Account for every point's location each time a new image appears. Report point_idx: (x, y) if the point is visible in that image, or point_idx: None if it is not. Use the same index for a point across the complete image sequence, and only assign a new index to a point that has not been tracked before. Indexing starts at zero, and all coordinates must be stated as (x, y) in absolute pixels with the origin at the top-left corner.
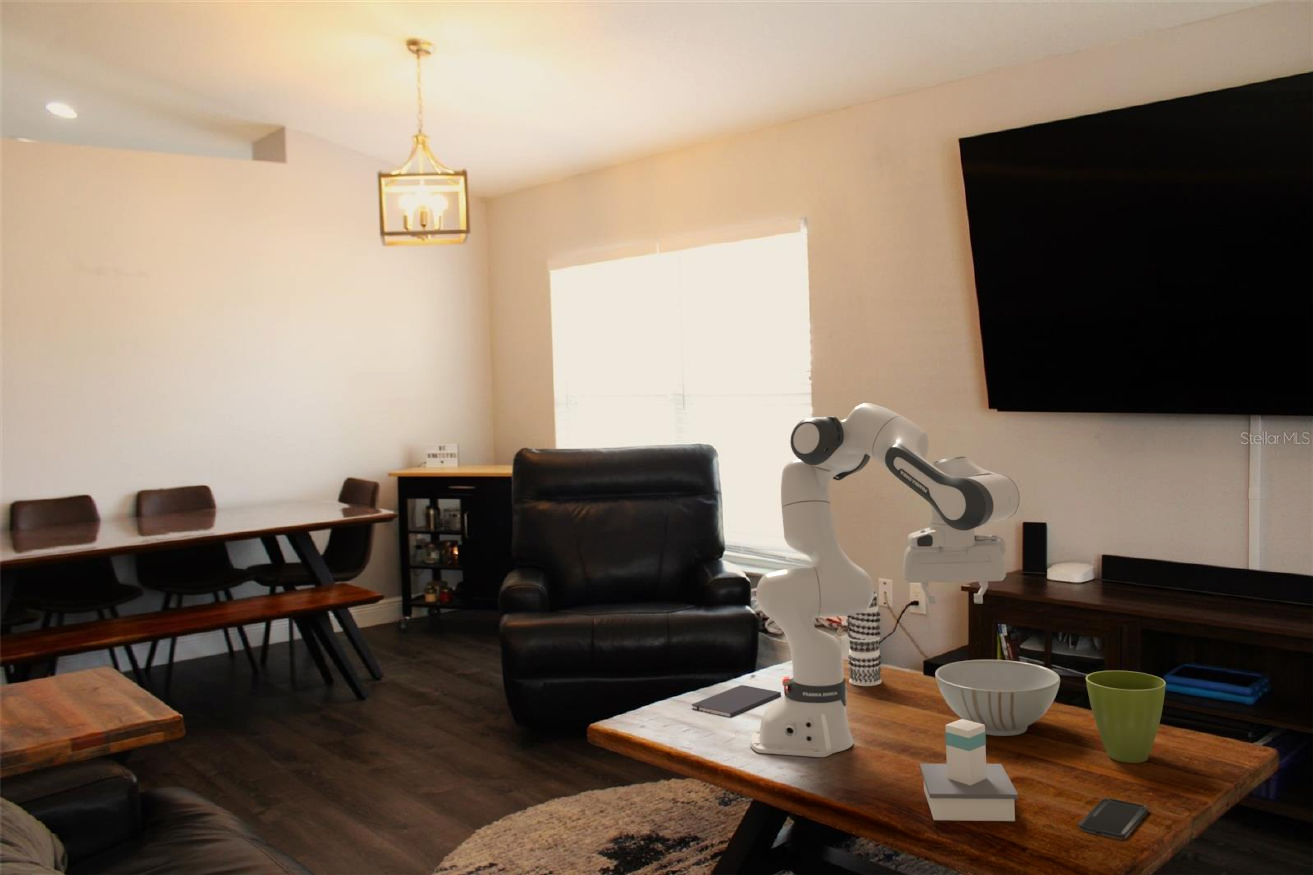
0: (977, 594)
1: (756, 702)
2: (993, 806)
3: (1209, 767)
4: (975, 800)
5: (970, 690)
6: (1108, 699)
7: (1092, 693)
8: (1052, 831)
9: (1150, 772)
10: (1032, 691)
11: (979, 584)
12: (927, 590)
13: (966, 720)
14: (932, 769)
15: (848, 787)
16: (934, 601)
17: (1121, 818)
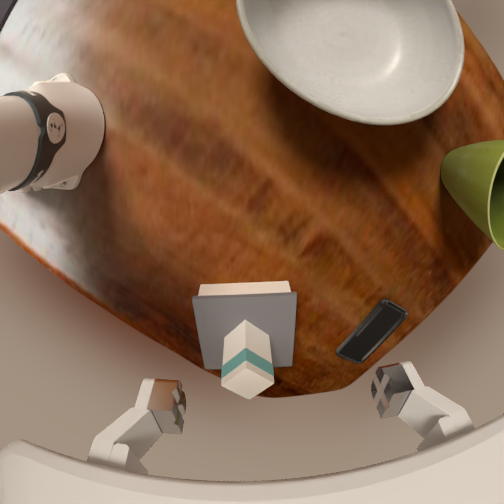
0: (397, 408)
1: (4, 15)
2: None
3: None
4: None
5: (301, 97)
6: (482, 229)
7: (478, 203)
8: (311, 357)
9: (455, 218)
10: (414, 120)
11: (435, 427)
12: (143, 455)
13: (252, 372)
14: (208, 315)
15: (118, 278)
16: (182, 412)
17: (376, 336)
